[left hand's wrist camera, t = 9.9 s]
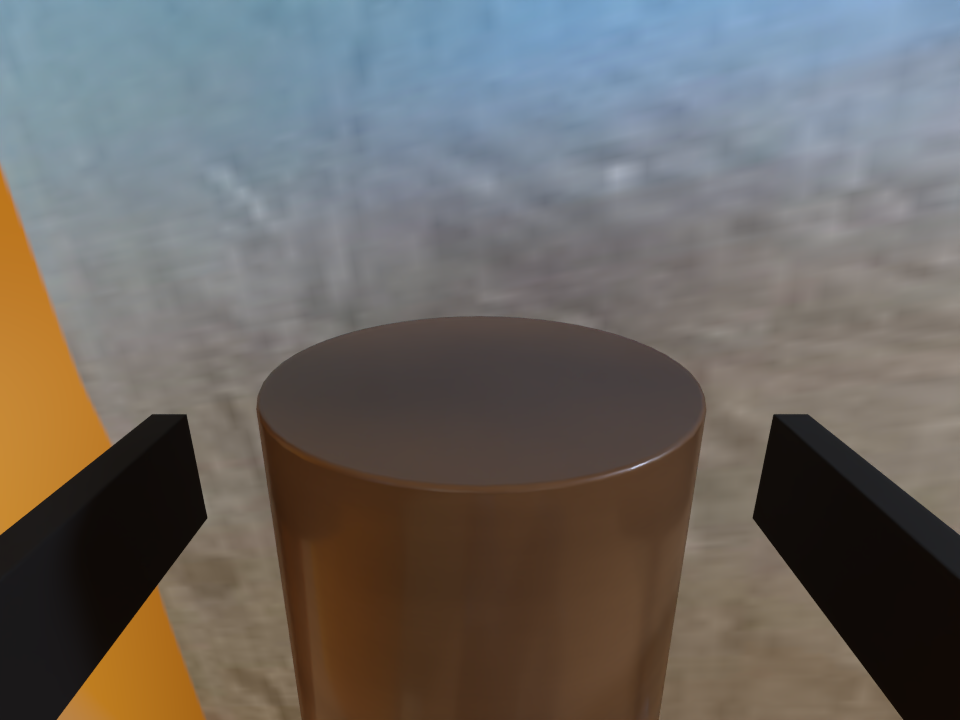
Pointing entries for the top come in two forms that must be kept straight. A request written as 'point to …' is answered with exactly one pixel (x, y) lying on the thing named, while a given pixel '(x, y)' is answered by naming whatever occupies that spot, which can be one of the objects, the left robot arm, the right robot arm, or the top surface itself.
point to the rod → (480, 519)
